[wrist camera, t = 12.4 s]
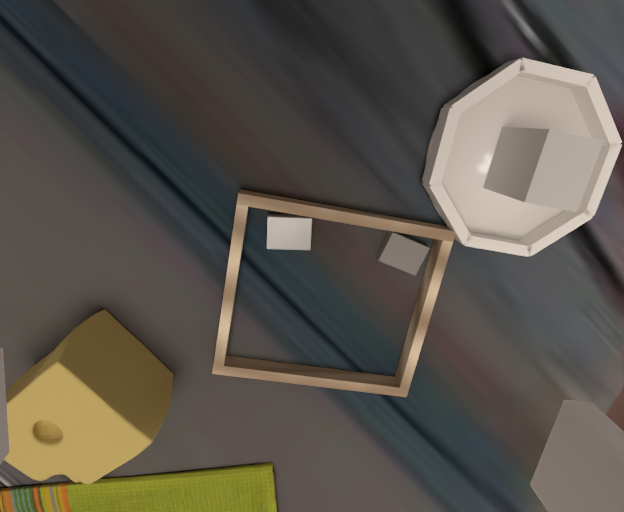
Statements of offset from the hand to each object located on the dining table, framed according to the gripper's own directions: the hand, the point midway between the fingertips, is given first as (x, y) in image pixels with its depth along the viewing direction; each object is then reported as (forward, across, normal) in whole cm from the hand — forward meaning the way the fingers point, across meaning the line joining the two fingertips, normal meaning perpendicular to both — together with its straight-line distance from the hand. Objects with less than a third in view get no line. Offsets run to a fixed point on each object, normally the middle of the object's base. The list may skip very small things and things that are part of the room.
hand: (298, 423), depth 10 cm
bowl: (+31, +21, +6) cm, 37 cm away
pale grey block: (+30, +21, +6) cm, 37 cm away
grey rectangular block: (+31, +12, -4) cm, 34 cm away
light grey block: (+31, +1, -4) cm, 31 cm away
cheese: (+31, -15, -20) cm, 40 cm away
